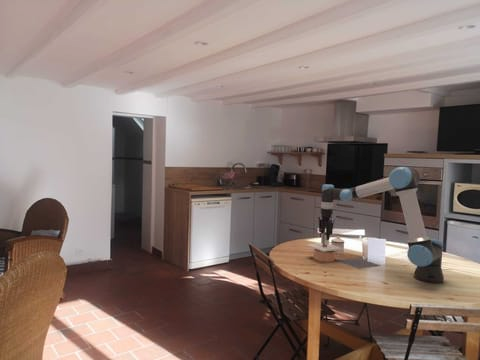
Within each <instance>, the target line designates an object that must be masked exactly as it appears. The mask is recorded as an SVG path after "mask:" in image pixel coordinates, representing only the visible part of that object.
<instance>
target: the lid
mask: <svg viewBox="0 0 480 360" xmlns="http://www.w3.org/2000/svg"><path fill="white" fill-rule="evenodd" d="M325 234H326V231H325V232H323V244H321V242H320V243H319V242H318V243H310V244H309V243H308V244H307V247H309V248H312V249H313V250H314V249H317V250H320V251H322V252H325V251H336V250H343V248H340V247H337V246H334V245H331V243H329V245H325Z"/></svg>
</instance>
